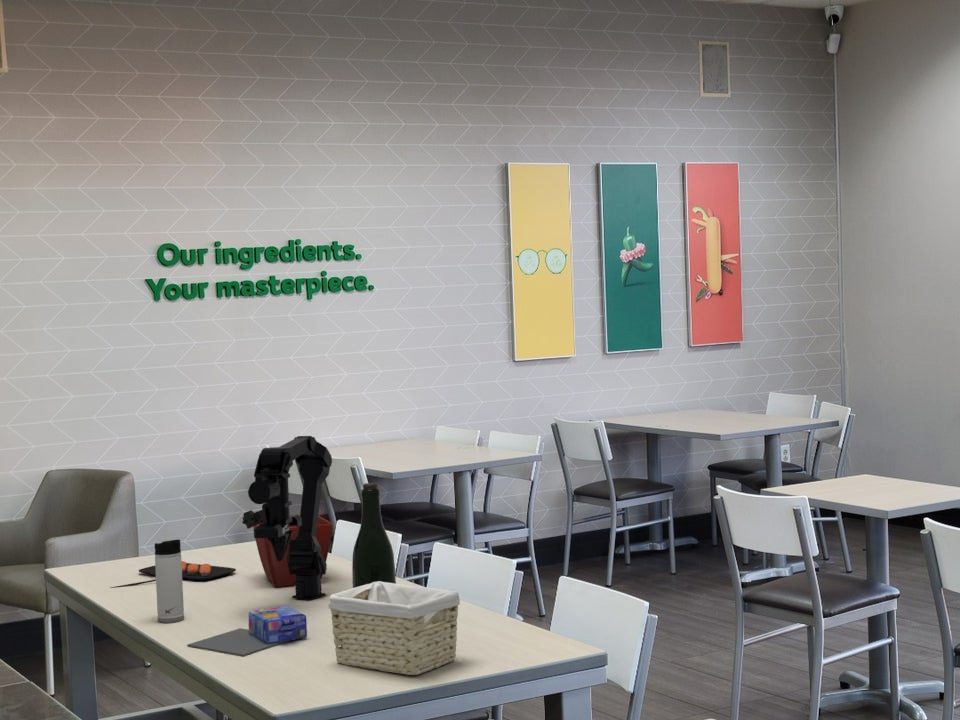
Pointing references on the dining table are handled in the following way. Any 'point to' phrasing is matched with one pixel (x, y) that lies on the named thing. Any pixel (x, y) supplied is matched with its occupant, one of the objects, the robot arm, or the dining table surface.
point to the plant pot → (279, 569)
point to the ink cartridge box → (277, 624)
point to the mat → (234, 643)
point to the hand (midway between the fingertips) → (279, 560)
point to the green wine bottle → (372, 543)
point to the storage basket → (395, 627)
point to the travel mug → (169, 581)
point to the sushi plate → (190, 572)
